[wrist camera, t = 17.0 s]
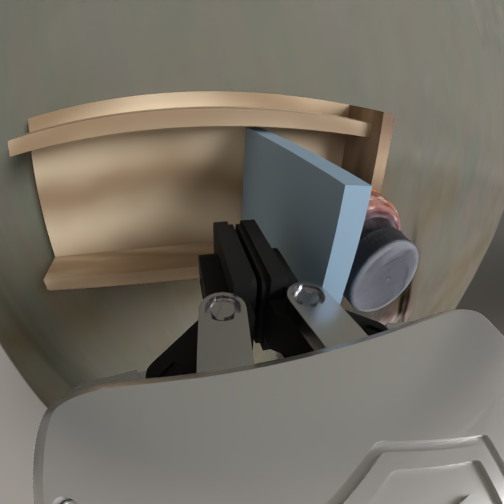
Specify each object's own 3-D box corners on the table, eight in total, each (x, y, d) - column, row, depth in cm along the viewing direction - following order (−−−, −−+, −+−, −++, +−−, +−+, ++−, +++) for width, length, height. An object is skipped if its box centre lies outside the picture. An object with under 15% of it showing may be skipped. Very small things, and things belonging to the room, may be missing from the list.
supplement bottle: (238, 182, 19) (305, 284, 10) (305, 133, 18) (424, 189, 9) (282, 236, 22) (353, 343, 13) (340, 193, 22) (438, 274, 12)
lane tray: (329, 246, 26) (356, 277, 22) (65, 270, 20) (49, 309, 16) (353, 105, 19) (394, 115, 15) (34, 116, 13) (-3, 128, 9)
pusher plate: (253, 235, 21) (318, 360, 12) (240, 236, 21) (298, 365, 12) (260, 127, 17) (372, 186, 7) (245, 127, 17) (345, 184, 7)
